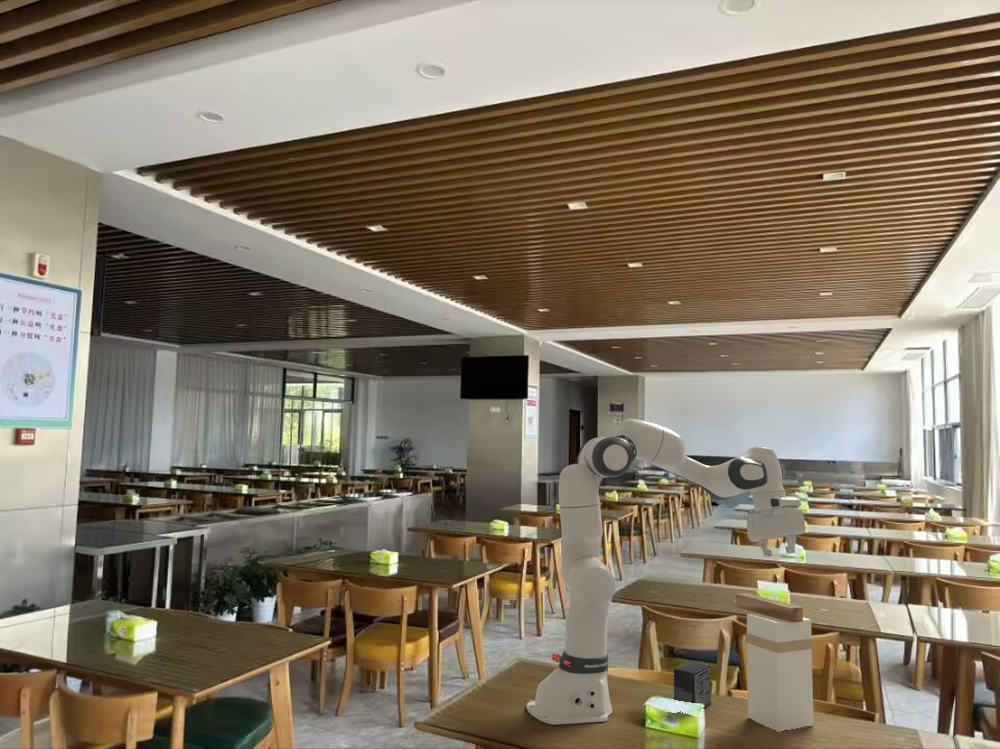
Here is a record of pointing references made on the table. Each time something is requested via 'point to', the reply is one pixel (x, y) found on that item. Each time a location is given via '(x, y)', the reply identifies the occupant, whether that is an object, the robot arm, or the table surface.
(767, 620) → the carton
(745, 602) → the flap bar
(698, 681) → the small box
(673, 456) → the robot arm
